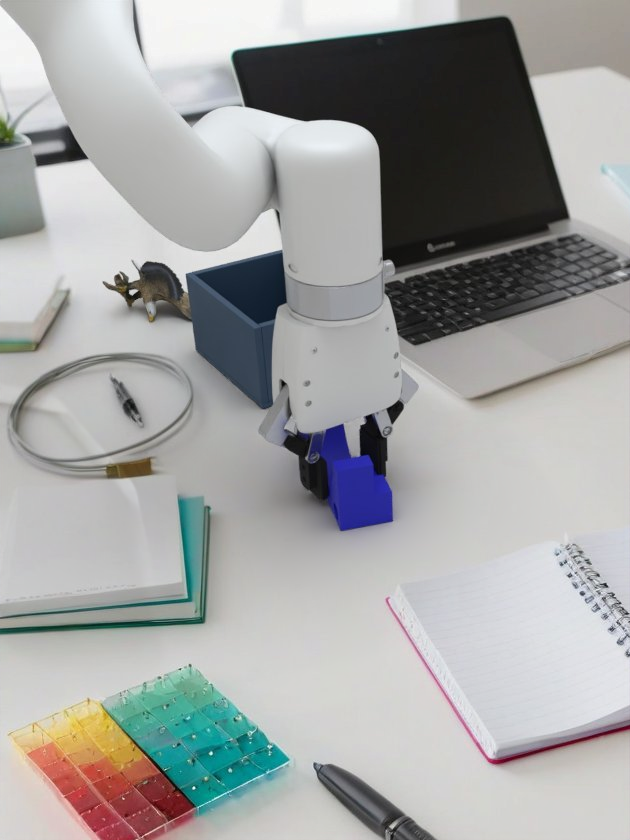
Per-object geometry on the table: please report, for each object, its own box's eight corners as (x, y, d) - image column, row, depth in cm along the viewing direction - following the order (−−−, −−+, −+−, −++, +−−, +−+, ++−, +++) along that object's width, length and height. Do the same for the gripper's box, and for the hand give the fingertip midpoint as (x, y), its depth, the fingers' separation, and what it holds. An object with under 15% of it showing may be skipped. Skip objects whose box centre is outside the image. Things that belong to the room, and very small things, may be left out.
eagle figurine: (103, 320, 122) (183, 313, 120) (99, 252, 122) (178, 244, 120) (139, 328, 129) (214, 322, 128) (135, 264, 129) (210, 257, 127)
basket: (262, 409, 111) (254, 328, 106) (195, 350, 120) (184, 273, 115) (363, 376, 117) (360, 298, 112) (292, 322, 126) (286, 248, 121)
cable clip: (392, 520, 97) (391, 461, 93) (340, 530, 96) (336, 470, 92) (356, 447, 106) (353, 390, 102) (307, 455, 105) (303, 398, 101)
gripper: (400, 248, 96) (403, 433, 107) (211, 297, 88) (235, 493, 98) (452, 280, 92) (450, 470, 102) (258, 335, 83) (278, 537, 94)
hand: (345, 479), depth 100 cm, fingers closed on cable clip, 5 cm apart
